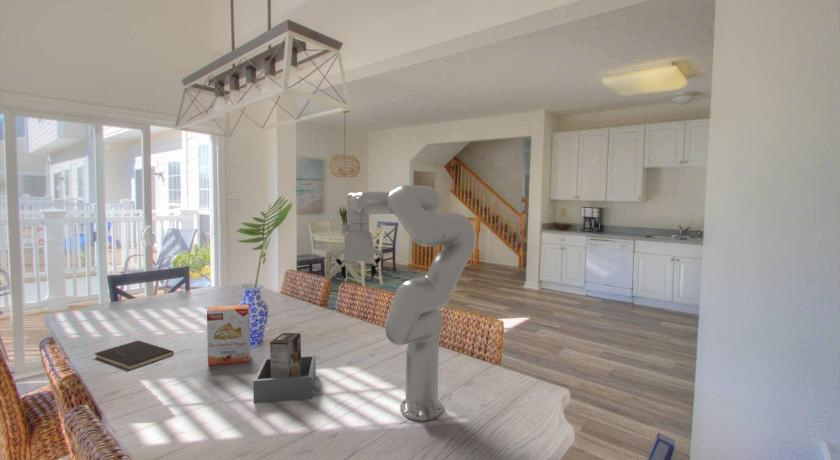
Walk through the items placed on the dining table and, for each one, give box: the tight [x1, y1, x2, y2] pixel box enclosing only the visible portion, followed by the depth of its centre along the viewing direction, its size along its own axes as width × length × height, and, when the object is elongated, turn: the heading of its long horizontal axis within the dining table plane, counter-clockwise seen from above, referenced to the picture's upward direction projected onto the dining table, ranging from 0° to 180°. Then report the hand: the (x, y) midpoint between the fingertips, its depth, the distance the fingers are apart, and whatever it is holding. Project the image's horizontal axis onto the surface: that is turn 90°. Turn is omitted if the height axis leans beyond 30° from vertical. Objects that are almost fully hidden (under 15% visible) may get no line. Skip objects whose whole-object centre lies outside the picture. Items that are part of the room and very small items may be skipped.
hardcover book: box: [94, 340, 174, 370], centre depth 156 cm, size 16×23×2 cm
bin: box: [252, 355, 317, 404], centre depth 131 cm, size 17×17×7 cm
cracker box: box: [206, 304, 251, 366], centre depth 151 cm, size 14×6×21 cm, turn 106°
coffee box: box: [269, 332, 302, 378], centre depth 131 cm, size 9×6×16 cm
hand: (358, 277), depth 141 cm, fingers open, 9 cm apart
